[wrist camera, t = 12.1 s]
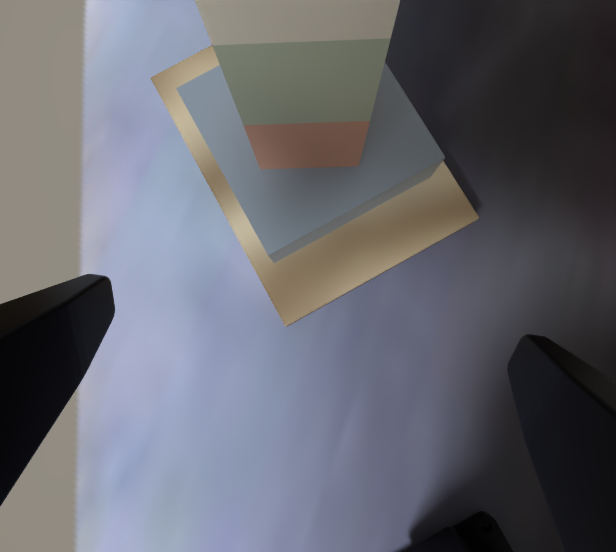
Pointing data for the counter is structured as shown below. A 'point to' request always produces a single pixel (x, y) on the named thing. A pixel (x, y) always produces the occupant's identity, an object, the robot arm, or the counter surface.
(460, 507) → the counter surface
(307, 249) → the board
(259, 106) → the brick column
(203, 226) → the counter surface
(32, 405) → the robot arm
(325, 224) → the base brick
